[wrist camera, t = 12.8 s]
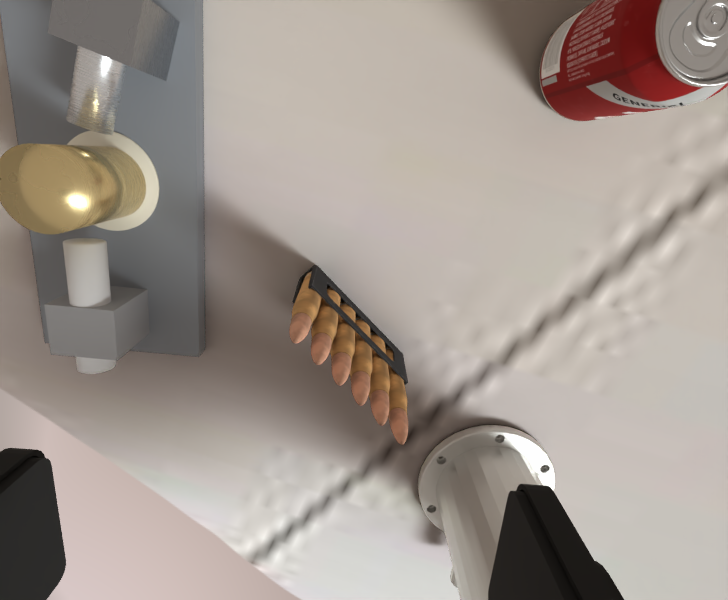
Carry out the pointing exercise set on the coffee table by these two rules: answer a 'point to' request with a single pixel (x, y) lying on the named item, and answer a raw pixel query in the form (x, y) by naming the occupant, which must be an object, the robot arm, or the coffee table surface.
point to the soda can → (635, 57)
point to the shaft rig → (131, 233)
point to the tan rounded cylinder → (69, 186)
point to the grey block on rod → (110, 52)
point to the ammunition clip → (351, 348)
